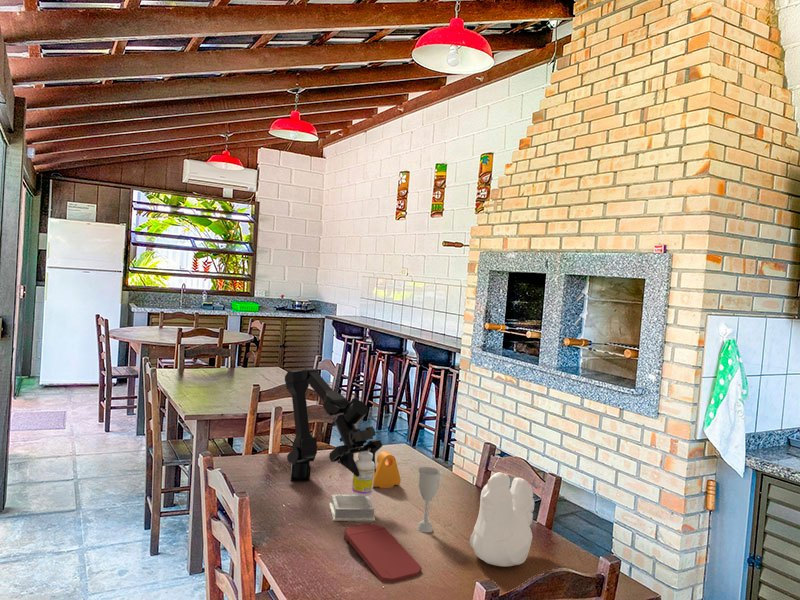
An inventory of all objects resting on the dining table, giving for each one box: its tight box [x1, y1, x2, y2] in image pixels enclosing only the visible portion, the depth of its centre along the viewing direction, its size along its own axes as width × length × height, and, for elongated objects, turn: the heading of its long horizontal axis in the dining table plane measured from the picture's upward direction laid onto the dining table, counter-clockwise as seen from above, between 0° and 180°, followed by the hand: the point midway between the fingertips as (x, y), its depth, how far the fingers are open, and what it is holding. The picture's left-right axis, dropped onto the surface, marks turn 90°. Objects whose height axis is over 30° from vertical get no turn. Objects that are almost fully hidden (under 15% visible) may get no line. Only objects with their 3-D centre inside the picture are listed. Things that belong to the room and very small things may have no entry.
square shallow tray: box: [328, 493, 376, 522], centre depth 185 cm, size 13×13×4 cm
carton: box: [343, 522, 423, 582], centre depth 157 cm, size 12×5×25 cm
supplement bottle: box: [351, 452, 376, 497], centre depth 187 cm, size 7×7×13 cm
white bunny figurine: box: [469, 471, 535, 567], centre depth 163 cm, size 25×16×25 cm, turn 126°
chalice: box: [416, 466, 443, 533], centre depth 177 cm, size 7×7×18 cm
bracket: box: [373, 450, 402, 489], centre depth 213 cm, size 11×7×12 cm, turn 116°
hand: (366, 474), depth 186 cm, fingers closed on supplement bottle, 7 cm apart
